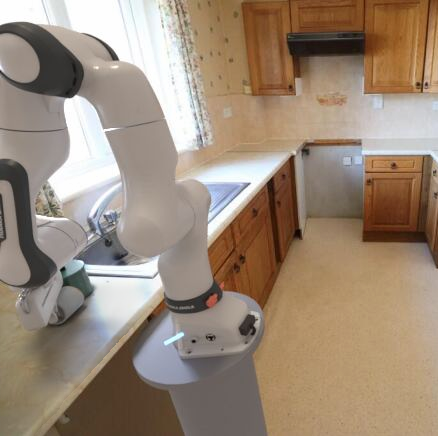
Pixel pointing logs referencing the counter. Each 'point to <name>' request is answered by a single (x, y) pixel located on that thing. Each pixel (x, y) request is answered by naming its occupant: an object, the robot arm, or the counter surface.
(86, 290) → the pot
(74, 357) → the counter surface
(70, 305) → the ceramic mug
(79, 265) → the pot lid
